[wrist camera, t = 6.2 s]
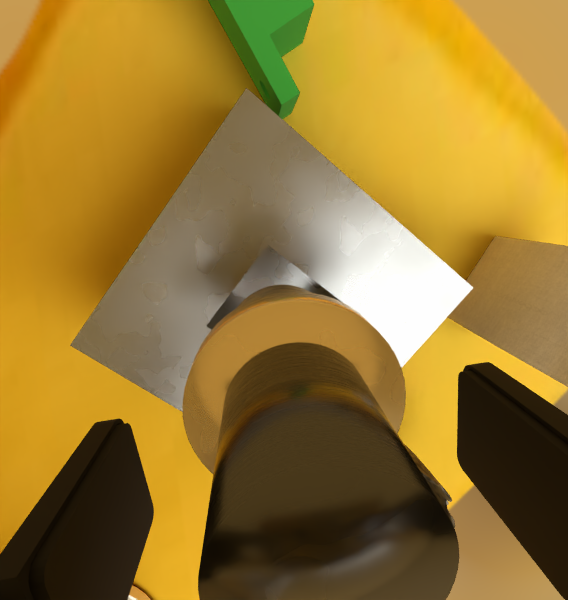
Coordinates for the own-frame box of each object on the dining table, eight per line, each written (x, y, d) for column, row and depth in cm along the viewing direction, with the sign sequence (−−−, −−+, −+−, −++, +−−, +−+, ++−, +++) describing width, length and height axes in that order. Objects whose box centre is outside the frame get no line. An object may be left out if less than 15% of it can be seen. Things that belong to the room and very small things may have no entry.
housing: (290, 424, 28) (299, 480, 23) (112, 312, 25) (70, 345, 19) (424, 268, 26) (473, 287, 20) (248, 117, 22) (246, 87, 16)
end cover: (293, 423, 18) (351, 751, 7) (179, 351, 16) (37, 631, 6) (381, 321, 17) (604, 530, 6) (267, 233, 15) (300, 306, 5)
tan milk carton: (443, 314, 27) (548, 376, 17) (495, 235, 26) (639, 255, 16) (480, 334, 28) (600, 404, 18) (532, 258, 26) (692, 291, 17)
